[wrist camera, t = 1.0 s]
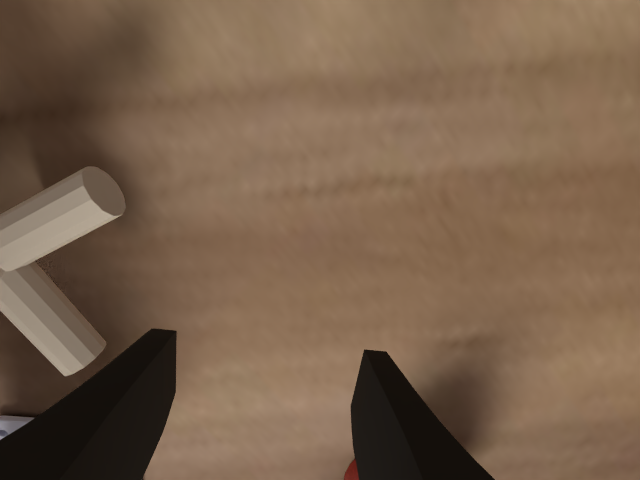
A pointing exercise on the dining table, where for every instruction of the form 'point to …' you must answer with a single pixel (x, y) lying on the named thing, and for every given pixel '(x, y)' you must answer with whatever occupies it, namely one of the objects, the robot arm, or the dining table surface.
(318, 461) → the dining table surface
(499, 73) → the dining table surface
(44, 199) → the pipe connector
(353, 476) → the colourful wooden stacking toy
